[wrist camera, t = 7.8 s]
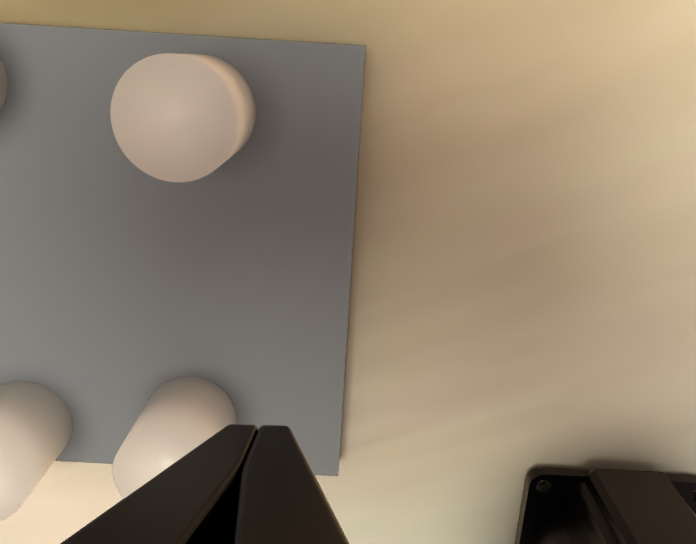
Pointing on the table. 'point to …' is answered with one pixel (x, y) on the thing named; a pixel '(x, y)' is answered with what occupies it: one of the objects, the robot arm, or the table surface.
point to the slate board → (178, 239)
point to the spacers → (169, 165)
